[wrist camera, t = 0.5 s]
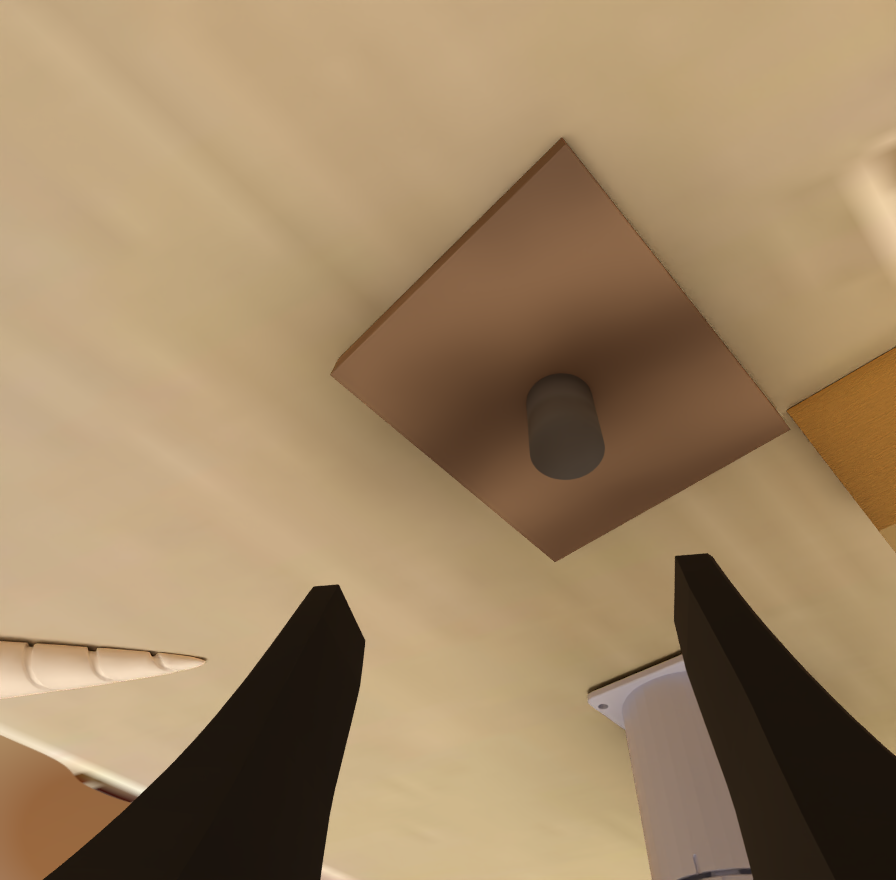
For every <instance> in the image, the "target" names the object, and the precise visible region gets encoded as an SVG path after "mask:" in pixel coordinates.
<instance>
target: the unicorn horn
mask: <svg viewBox="0 0 896 880" xmlns="http://www.w3.org/2000/svg"><path fill="white" fill-rule="evenodd" d="M205 663H206V661H204V660H202V659H199V658H195V657H191V656H184V655H176V654H167V653H157V654H156V655H155V656H151V654H150V652H147V651H135V650H124V649H111V648H97V650H96V651H88V647H82V646H70V645H57V644H41V643H36V644H34V647H29V645H28V643H26V642H10V641H0V699H3V698H10V697H18V696H25V695H33V694H40V693H48V692H53V691H57V690H58V691H62V690H69V689H76V688H83V687H90V686H96V685H103V684H110V683H115V682H119V681H121V682H123V681H129V680H135V679H141V678H147V677H153V676H159V675H164V674H170V673H174V672H178V671H184V670H188V669H192V668H195V667H199V666H201V665H203V664H205Z"/></svg>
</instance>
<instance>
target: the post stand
mask: <svg viewBox="0 0 896 880" xmlns="http://www.w3.org/2000/svg"><path fill="white" fill-rule="evenodd" d="M330 375H331V376H332V377H333V378H335V379H336V380H337V381H338V382H339V383H341V384H342V385H343V386H344V387H345V388H347V389H348V390H349V391H350V392H351V393H353V394H354V395H355V396H356V397H357V398H359V399H360V400H361V401H362V402H363V403H365V404H366V405H367V406H368V407H369V408H371V409H372V410H373V411H374V412H375V413H377V414H378V415H379V416H380V417H381V418H383V419H384V420H385V421H386V422H387V423H389V424H390V425H391V426H392V427H393V428H395V429H396V430H397V431H398V432H399V433H401V434H402V435H403V436H404V437H405V438H407V439H408V440H409V441H410V442H411V443H413V444H414V445H415V446H416V447H417V448H419V449H420V450H421V451H422V452H423V453H425V454H426V455H427V456H428V457H429V458H431V459H432V460H433V461H434V462H435V463H437V464H438V465H439V466H440V467H441V468H443V469H444V470H445V471H446V472H447V473H449V474H450V475H451V476H452V477H453V478H455V479H456V480H457V481H458V482H459V483H461V484H462V485H463V486H464V487H465V488H467V489H468V490H469V491H470V492H471V493H473V494H474V495H475V496H476V497H477V498H479V499H480V500H481V501H482V502H483V503H485V504H486V505H487V506H488V507H489V508H491V509H492V510H493V511H494V512H495V513H497V514H498V515H499V516H500V517H501V518H503V519H504V520H505V521H506V522H508V523H509V524H510V525H511V526H512V527H514V528H515V529H516V530H517V531H518V532H520V533H521V534H522V535H523V536H524V537H526V538H527V539H528V540H529V541H530V542H532V543H533V544H534V545H535V546H536V547H538V548H539V549H540V550H541V551H542V552H544V553H545V554H546V555H547V556H548V557H550V558H551V559H552V560H553V561H554V562H556V561H558V560H560V559H561V558H563V557H565V556H567V555H569V554H570V553H572V552H574V551H576V550H577V549H579V548H581V547H583V546H585V545H586V544H588V543H590V542H592V541H593V540H595V539H597V538H599V537H600V536H602V535H604V534H606V533H608V532H609V531H611V530H613V529H615V528H616V527H618V526H620V525H622V524H624V523H625V522H627V521H629V520H631V519H632V518H634V517H636V516H638V515H640V514H641V513H643V512H645V511H647V510H648V509H650V508H652V507H654V506H655V505H657V504H659V503H661V502H663V501H664V500H666V499H668V498H670V497H671V496H673V495H675V494H677V493H679V492H680V491H682V490H684V489H686V488H687V487H689V486H691V485H693V484H695V483H696V482H698V481H700V480H702V479H703V478H705V477H707V476H709V475H710V474H712V473H714V472H716V471H718V470H719V469H721V468H723V467H725V466H726V465H728V464H730V463H732V462H734V461H735V460H737V459H739V458H741V457H742V456H744V455H746V454H748V453H750V452H751V451H753V450H755V449H757V448H758V447H760V446H762V445H764V444H765V443H767V442H769V441H771V440H773V439H774V438H776V437H778V436H780V435H781V434H783V433H785V432H787V431H789V430H790V428H789V427H788V426H787V424H786V423H785V421H784V420H783V419H782V417H781V416H780V415H779V413H778V412H777V411H776V409H775V408H774V407H773V406H772V404H771V403H770V402H769V400H768V399H767V398H766V397H765V395H764V394H763V393H762V392H761V390H760V389H759V388H758V386H757V385H756V384H755V383H754V381H753V380H752V379H751V378H750V376H749V375H748V374H747V372H746V371H745V370H744V369H743V367H742V366H741V365H740V364H739V362H738V361H737V360H736V358H735V357H734V356H733V355H732V353H731V352H730V351H729V350H728V348H727V347H726V346H725V344H724V343H723V342H722V341H721V339H720V338H719V337H718V336H717V334H716V333H715V332H714V330H713V329H712V328H711V327H710V325H709V324H708V323H707V322H706V320H705V319H704V318H703V316H702V315H701V314H700V313H699V311H698V310H697V309H696V308H695V306H694V305H693V304H692V302H691V301H690V300H689V299H688V297H687V296H686V295H685V294H684V292H683V291H682V290H681V288H680V287H679V286H678V285H677V283H676V282H675V281H674V280H673V278H672V277H671V276H670V274H669V273H668V272H667V271H666V269H665V268H664V267H663V266H662V264H661V263H660V262H659V260H658V259H657V258H656V257H655V255H654V254H653V253H652V252H651V250H650V249H649V248H648V246H647V245H646V244H645V243H644V241H643V240H642V239H641V237H640V236H639V235H638V234H637V232H636V231H635V230H634V229H633V227H632V226H631V225H630V223H629V222H628V221H627V220H626V218H625V217H624V216H623V215H622V213H621V212H620V211H619V209H618V208H617V207H616V206H615V204H614V203H613V202H612V201H611V199H610V198H609V197H608V195H607V194H606V193H605V192H604V190H603V189H602V188H601V187H600V185H599V184H598V183H597V181H596V180H595V179H594V178H593V176H592V175H591V174H590V173H589V171H588V170H587V169H586V167H585V166H584V165H583V164H582V162H581V161H580V160H579V159H578V157H577V156H576V155H575V153H574V152H573V151H572V150H571V148H570V147H569V146H568V145H567V143H566V142H565V141H564V139H563V138H561V139H560V140H559V141H558V142H557V143H556V144H555V145H554V146H553V147H552V148H551V149H550V150H549V151H548V152H547V153H546V154H545V155H544V156H543V157H542V158H541V159H540V160H539V161H538V162H537V163H536V164H535V165H534V166H533V167H532V168H531V169H530V170H529V171H528V172H527V173H526V174H525V175H524V176H523V177H521V178H520V179H519V180H518V181H517V182H516V183H515V184H514V185H513V186H512V187H511V188H510V189H509V190H508V191H507V192H506V193H505V194H504V195H503V196H502V197H501V198H500V199H499V200H498V201H497V202H496V203H495V204H494V205H493V206H492V207H491V208H490V209H489V210H488V211H487V212H486V213H485V214H484V215H483V216H482V217H481V218H480V219H479V220H478V221H477V222H476V223H475V224H474V225H473V226H472V227H471V228H470V229H469V230H468V231H467V232H466V233H465V234H464V235H463V236H462V237H461V238H460V239H459V240H458V241H457V242H456V243H455V244H454V245H453V246H452V247H451V248H450V249H449V250H448V251H447V252H446V253H445V254H444V255H443V256H442V257H441V258H440V259H439V260H438V261H437V262H436V263H435V264H434V265H433V266H432V267H431V268H430V269H429V270H428V271H427V272H426V273H425V274H424V275H423V276H422V277H421V278H419V279H418V280H417V281H416V282H415V283H414V284H413V285H412V286H411V287H410V288H409V289H408V290H407V291H406V292H405V293H404V294H403V295H402V296H401V297H400V298H399V299H398V300H397V301H396V302H395V303H394V304H393V305H392V306H391V307H390V308H389V309H388V310H387V311H386V312H385V313H384V314H383V315H382V316H381V317H380V318H379V319H378V320H377V321H376V322H375V323H374V324H373V325H372V326H371V327H370V328H369V329H368V330H367V331H366V332H365V333H364V334H363V335H362V336H361V337H360V338H359V339H358V340H357V341H356V342H355V343H354V344H353V345H352V346H351V347H350V348H349V349H348V350H347V351H346V352H345V353H344V354H343V355H342V356H341V357H340V358H339V359H338V361H337V363H336V365H335V367H334V368H333V370H332V372H331V374H330Z"/></svg>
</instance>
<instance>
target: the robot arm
mask: <svg viewBox="0 0 896 880" xmlns="http://www.w3.org/2000/svg"><path fill="white" fill-rule="evenodd" d="M674 622H675V627H676V631H677V635H678V639H679V644H680V648H681V652H682V654H681V655H679V656H676V657H674V658H672V659H669V660H667V661H664V662H662V663H660V664H657V665H655V666H652V667H650V668H648V669H645V670H643V671H640V672H638V673H636V674H633V675H631V676H628V677H626V678H624V679H621V680H619V681H616V682H614V683H612V684H609V685H607V686H604V687H602V688H600V689H597V690H595V691H592V692H590V693H589V694H588V695H587V698H588V703H589V705H591V706H592V707H594V708H595V709H596V710H598V711H599V712H601V713H602V714H603V715H605V716H606V717H608V718H609V719H610V720H612V721H613V722H615V723H616V724H617V725H619V726H620V727H622V728H623V729H624V730H625V731H626V737H627V742H628V748H629V754H630V759H631V765H632V770H633V776H634V782H635V787H636V793H637V798H638V804H639V810H640V815H641V821H642V827H643V832H644V838H645V843H646V849H647V855H648V860H649V866H650V871H651V877H652V880H896V756H895V755H894V754H893V753H891V752H890V751H889V750H888V749H887V748H886V747H885V746H883V745H882V744H881V743H880V742H879V741H878V740H877V739H876V738H875V737H874V736H873V735H871V734H870V733H869V732H868V731H867V730H866V729H865V728H864V727H863V726H862V725H861V724H860V723H858V722H857V721H856V720H855V719H854V718H853V717H852V716H851V715H850V714H849V713H848V712H847V711H846V710H845V709H844V708H843V707H842V706H841V705H840V704H839V703H838V702H837V701H836V700H835V699H834V698H833V697H832V696H831V695H830V694H829V693H828V692H827V691H826V690H825V689H824V688H823V687H822V686H821V685H820V684H819V683H818V682H817V681H816V680H815V679H814V678H813V677H812V676H811V675H810V674H809V673H808V672H807V671H806V670H805V669H804V667H803V666H802V665H801V664H800V663H799V662H798V661H797V660H796V659H795V658H794V657H793V656H792V654H791V653H790V652H789V651H788V650H787V649H786V648H785V647H784V645H783V644H782V643H781V642H780V641H779V640H778V639H777V638H776V636H775V635H774V634H773V633H772V632H771V631H770V630H769V628H768V627H767V626H766V625H765V624H764V623H763V622H762V620H761V619H760V618H759V617H758V616H757V614H756V613H755V612H754V611H753V610H752V608H751V607H750V606H749V605H748V603H747V602H746V601H745V600H744V598H743V597H742V596H741V595H740V593H739V592H738V591H737V589H736V588H735V587H734V586H733V584H732V583H731V582H730V580H729V579H728V578H727V576H726V575H725V574H724V572H723V571H722V569H721V568H720V567H719V565H718V564H717V562H716V561H715V559H714V558H713V557H712V556H711V555H709V554H708V553H706V554H694V555H682V556H675V598H674ZM364 648H365V639H364V637H363V635H362V633H361V631H360V629H359V626H358V624H357V622H356V620H355V618H354V616H353V614H352V612H351V610H350V607H349V605H348V603H347V601H346V599H345V597H344V595H343V593H342V591H341V588H340V586H339V585H327V586H315V587H313V588H312V589H311V591H310V592H309V593H308V595H307V596H306V597H305V599H304V600H303V601H302V603H301V604H300V606H299V607H298V608H297V610H296V611H295V613H294V614H293V615H292V617H291V618H290V620H289V621H288V622H287V624H286V625H285V626H284V628H283V629H282V631H281V632H280V633H279V635H278V636H277V638H276V639H275V640H274V642H273V643H272V644H271V646H270V647H269V648H268V650H267V651H266V652H265V654H264V655H263V656H262V658H261V659H260V660H259V662H258V663H257V664H256V666H255V667H254V668H253V670H252V671H251V672H250V674H249V675H248V676H247V678H246V679H245V680H244V681H243V683H242V684H241V685H240V686H239V688H238V689H237V690H236V691H235V693H234V694H233V695H232V696H231V697H230V699H229V700H228V701H227V702H226V704H225V705H224V706H223V707H222V709H221V710H220V711H219V712H218V713H217V715H216V716H215V717H214V718H213V719H212V720H211V722H210V723H209V724H208V725H207V726H206V727H205V729H204V730H203V731H202V732H201V733H200V734H199V735H198V736H197V738H196V739H195V740H194V741H193V742H192V743H191V744H190V745H189V746H188V747H187V748H186V749H185V751H184V752H183V753H182V754H181V755H180V756H179V757H178V758H177V759H176V760H175V761H174V762H173V763H172V764H171V765H170V766H169V767H168V768H167V769H166V770H165V771H164V772H163V773H162V774H161V775H160V776H159V777H158V778H157V779H156V780H155V781H154V782H153V783H152V784H151V785H150V786H149V787H148V788H147V789H146V790H145V791H144V792H143V793H142V794H141V795H140V796H139V797H138V798H137V799H135V800H134V801H133V802H132V803H131V804H130V805H129V806H128V807H127V808H126V809H125V810H124V811H123V812H122V813H121V814H120V815H119V816H117V817H116V818H115V819H114V820H113V821H112V822H111V823H110V824H108V825H107V826H106V827H105V828H104V829H103V830H102V831H101V832H100V833H98V834H97V835H96V836H95V837H94V838H93V839H91V840H90V841H89V842H88V843H87V844H86V845H84V846H83V847H82V848H81V849H80V850H79V851H78V852H76V853H75V854H74V855H73V856H72V857H70V858H69V859H68V860H67V861H66V862H64V863H63V864H62V865H61V866H59V867H58V868H57V869H56V870H54V871H53V872H52V873H51V874H49V875H48V876H47V877H46V878H44V879H43V880H320V878H321V870H322V863H323V856H324V849H325V843H326V836H327V830H328V823H329V816H330V811H331V806H332V801H333V796H334V791H335V787H336V783H337V779H338V775H339V771H340V767H341V763H342V759H343V755H344V751H345V747H346V743H347V738H348V734H349V730H350V726H351V722H352V718H353V714H354V710H355V705H356V701H357V697H358V693H359V688H360V682H361V674H362V667H363V658H364Z"/></svg>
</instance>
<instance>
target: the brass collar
mask: <svg viewBox="0 0 896 880" xmlns="http://www.w3.org/2000/svg"><path fill="white" fill-rule="evenodd" d="M787 412H788V413H789V415H790V416H791V417H792V418H793V420H794V421H795V422H796V424H797V425H798V426H799V428H800V429H801V430H802V431H803V433H804V434H805V435H806V437H807V438H808V439H809V441H810V442H811V443H812V445H813V446H814V447H815V448H816V450H817V451H818V452H819V454H820V455H821V456H822V458H823V459H824V460H825V461H826V463H827V464H828V465H829V467H830V468H831V469H832V471H833V472H834V473H835V475H836V476H837V477H838V478H839V480H840V481H841V482H842V484H843V485H844V486H845V488H846V489H847V490H848V491H849V493H850V494H851V495H852V497H853V498H854V499H855V501H856V502H857V503H858V505H859V506H860V507H861V508H862V510H863V511H864V512H865V514H866V515H867V516H868V518H869V519H870V520H871V521H872V523H873V524H874V525H875V527H876V528H877V529H878V531H879V532H880V533H881V534H882V536H883V537H884V538H885V540H886V541H887V542H888V543H889V545H890V546H891V547H892V549H893V550H894V551H895V553H896V347H895V348H894V349H892V350H890V351H888V352H887V353H885V354H883V355H882V356H880V357H878V358H876V359H875V360H873V361H871V362H870V363H868V364H866V365H864V366H863V367H861V368H859V369H858V370H856V371H854V372H852V373H851V374H849V375H847V376H845V377H844V378H842V379H840V380H839V381H837V382H835V383H833V384H832V385H830V386H828V387H827V388H825V389H823V390H821V391H820V392H818V393H816V394H814V395H813V396H811V397H809V398H808V399H806V400H804V401H802V402H801V403H799V404H797V405H796V406H794V407H792V408H790V409H789V410H787Z"/></svg>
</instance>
